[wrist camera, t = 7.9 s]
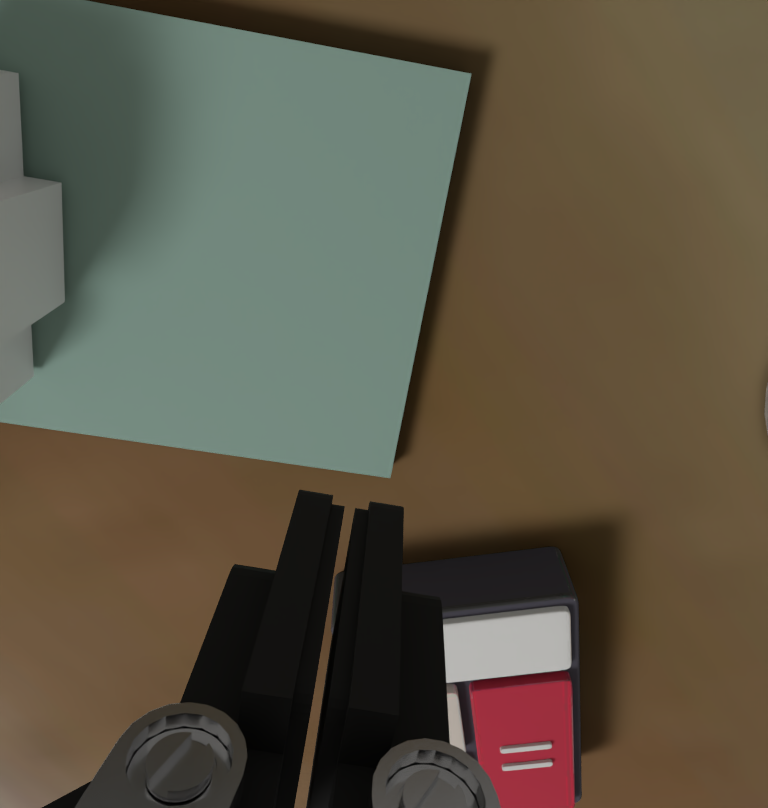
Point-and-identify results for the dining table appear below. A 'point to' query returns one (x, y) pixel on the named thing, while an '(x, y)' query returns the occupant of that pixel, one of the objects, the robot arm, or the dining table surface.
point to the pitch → (229, 232)
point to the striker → (24, 246)
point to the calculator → (510, 668)
